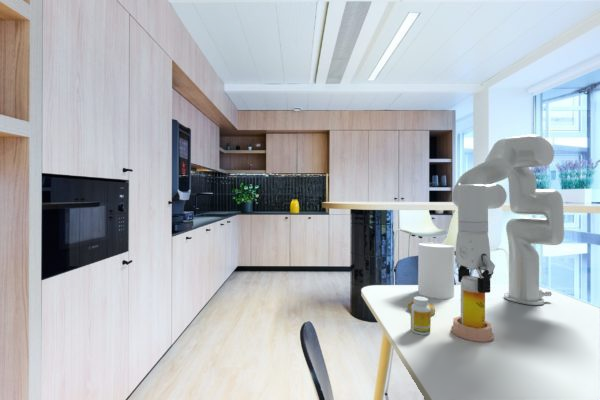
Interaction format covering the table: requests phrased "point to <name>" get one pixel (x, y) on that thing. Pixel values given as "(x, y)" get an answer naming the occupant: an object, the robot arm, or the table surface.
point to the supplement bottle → (420, 316)
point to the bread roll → (428, 305)
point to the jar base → (472, 331)
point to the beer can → (472, 303)
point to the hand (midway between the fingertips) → (473, 286)
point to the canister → (436, 270)
